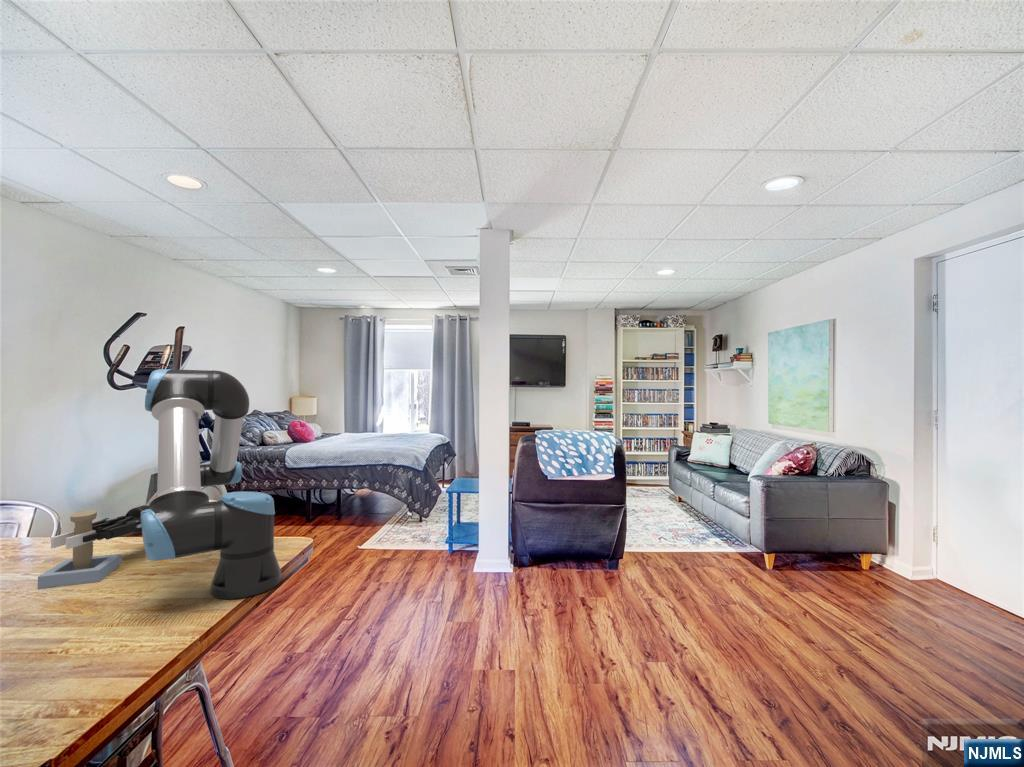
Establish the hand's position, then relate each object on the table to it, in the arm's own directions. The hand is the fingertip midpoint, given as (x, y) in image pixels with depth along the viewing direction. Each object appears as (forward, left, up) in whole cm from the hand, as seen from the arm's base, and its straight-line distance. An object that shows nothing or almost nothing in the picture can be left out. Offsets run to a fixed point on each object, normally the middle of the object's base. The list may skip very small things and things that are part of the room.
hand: (59, 543), depth 111 cm
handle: (+5, -3, -9) cm, 11 cm away
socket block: (+5, -3, -10) cm, 12 cm away
